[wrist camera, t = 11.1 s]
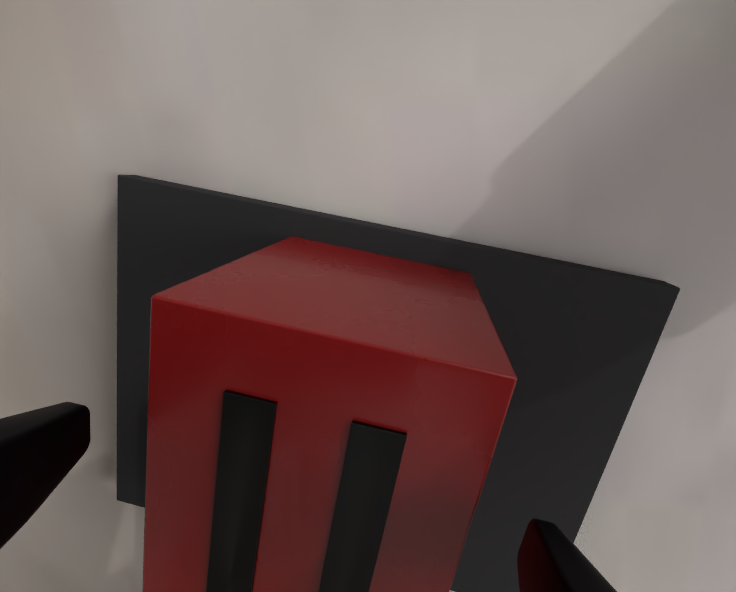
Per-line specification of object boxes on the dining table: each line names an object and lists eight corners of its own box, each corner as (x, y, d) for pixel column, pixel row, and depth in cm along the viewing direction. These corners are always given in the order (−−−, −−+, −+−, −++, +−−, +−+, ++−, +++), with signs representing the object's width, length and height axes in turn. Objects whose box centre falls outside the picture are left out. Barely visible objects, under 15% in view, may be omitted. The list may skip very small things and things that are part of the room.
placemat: (664, 281, 15) (681, 288, 14) (537, 593, 19) (543, 615, 18) (135, 174, 16) (116, 174, 15) (130, 485, 21) (116, 500, 20)
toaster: (396, 556, 18) (373, 833, 10) (255, 518, 19) (134, 757, 11) (470, 272, 14) (520, 380, 7) (291, 235, 15) (145, 296, 7)
